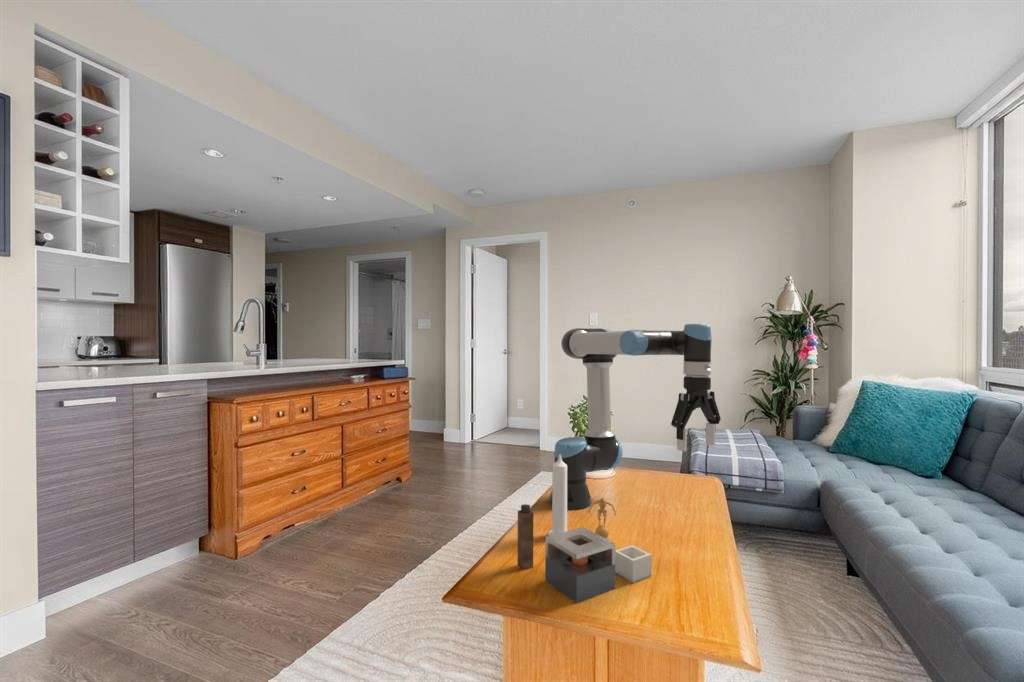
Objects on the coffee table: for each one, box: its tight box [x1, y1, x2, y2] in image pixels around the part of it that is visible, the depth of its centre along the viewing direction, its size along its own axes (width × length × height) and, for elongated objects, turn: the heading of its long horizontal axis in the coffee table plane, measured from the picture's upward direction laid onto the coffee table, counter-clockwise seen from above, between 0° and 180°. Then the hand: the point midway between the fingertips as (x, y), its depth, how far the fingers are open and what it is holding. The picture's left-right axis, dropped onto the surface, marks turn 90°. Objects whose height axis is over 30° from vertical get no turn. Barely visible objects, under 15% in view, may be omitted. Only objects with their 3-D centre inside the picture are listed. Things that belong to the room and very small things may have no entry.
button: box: [572, 545, 588, 567], centre depth 117 cm, size 4×4×6 cm
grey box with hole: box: [544, 526, 616, 604], centre depth 117 cm, size 12×12×11 cm
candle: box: [547, 454, 568, 536], centre depth 147 cm, size 7×7×25 cm
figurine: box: [587, 497, 617, 539], centre depth 145 cm, size 8×6×12 cm
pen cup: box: [615, 544, 652, 584], centre depth 123 cm, size 7×7×6 cm
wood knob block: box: [516, 504, 534, 571], centre depth 127 cm, size 3×3×16 cm
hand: (696, 447), depth 141 cm, fingers open, 13 cm apart
